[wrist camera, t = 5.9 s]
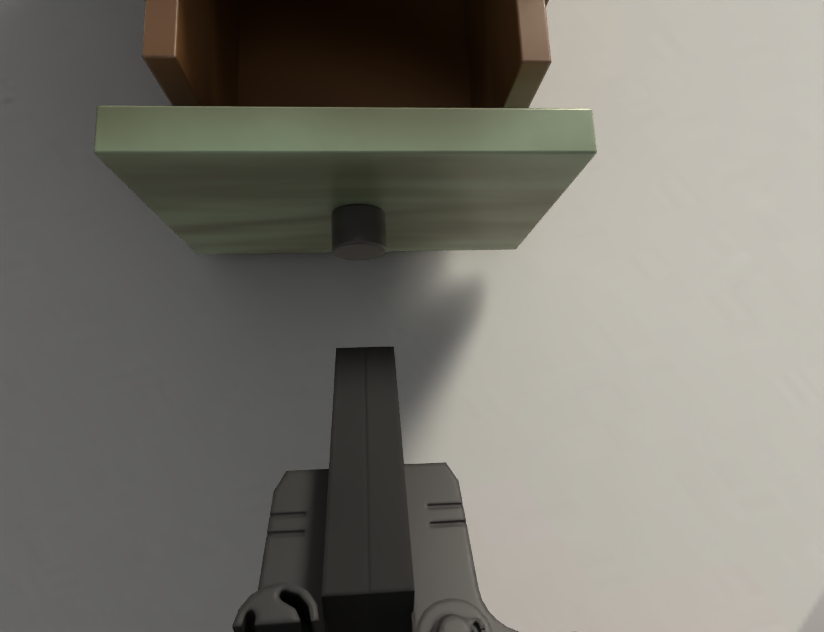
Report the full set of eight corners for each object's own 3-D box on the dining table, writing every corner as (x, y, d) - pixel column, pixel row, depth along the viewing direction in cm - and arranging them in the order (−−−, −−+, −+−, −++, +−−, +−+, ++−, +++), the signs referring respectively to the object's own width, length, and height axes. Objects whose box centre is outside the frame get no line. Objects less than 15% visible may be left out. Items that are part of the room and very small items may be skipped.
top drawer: (518, 280, 20) (603, 200, 13) (195, 287, 19) (88, 204, 12) (491, -59, 23) (547, -284, 16) (208, -68, 22) (128, -313, 15)
